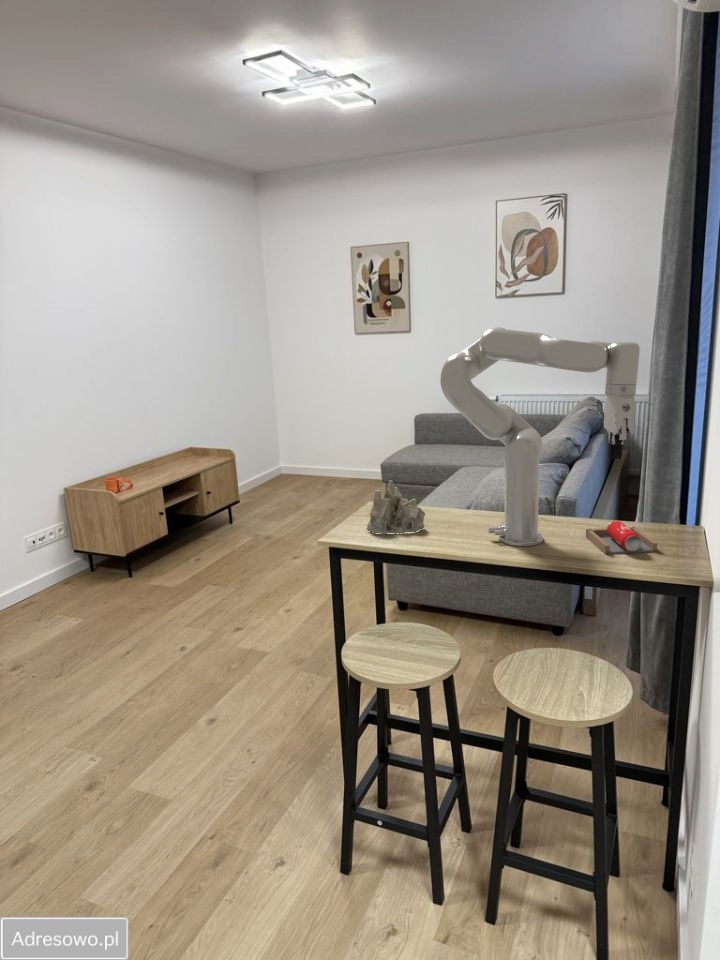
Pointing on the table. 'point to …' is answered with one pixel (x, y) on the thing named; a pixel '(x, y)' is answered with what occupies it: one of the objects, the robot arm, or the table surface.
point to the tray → (612, 547)
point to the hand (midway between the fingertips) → (614, 457)
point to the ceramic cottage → (394, 513)
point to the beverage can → (624, 536)
